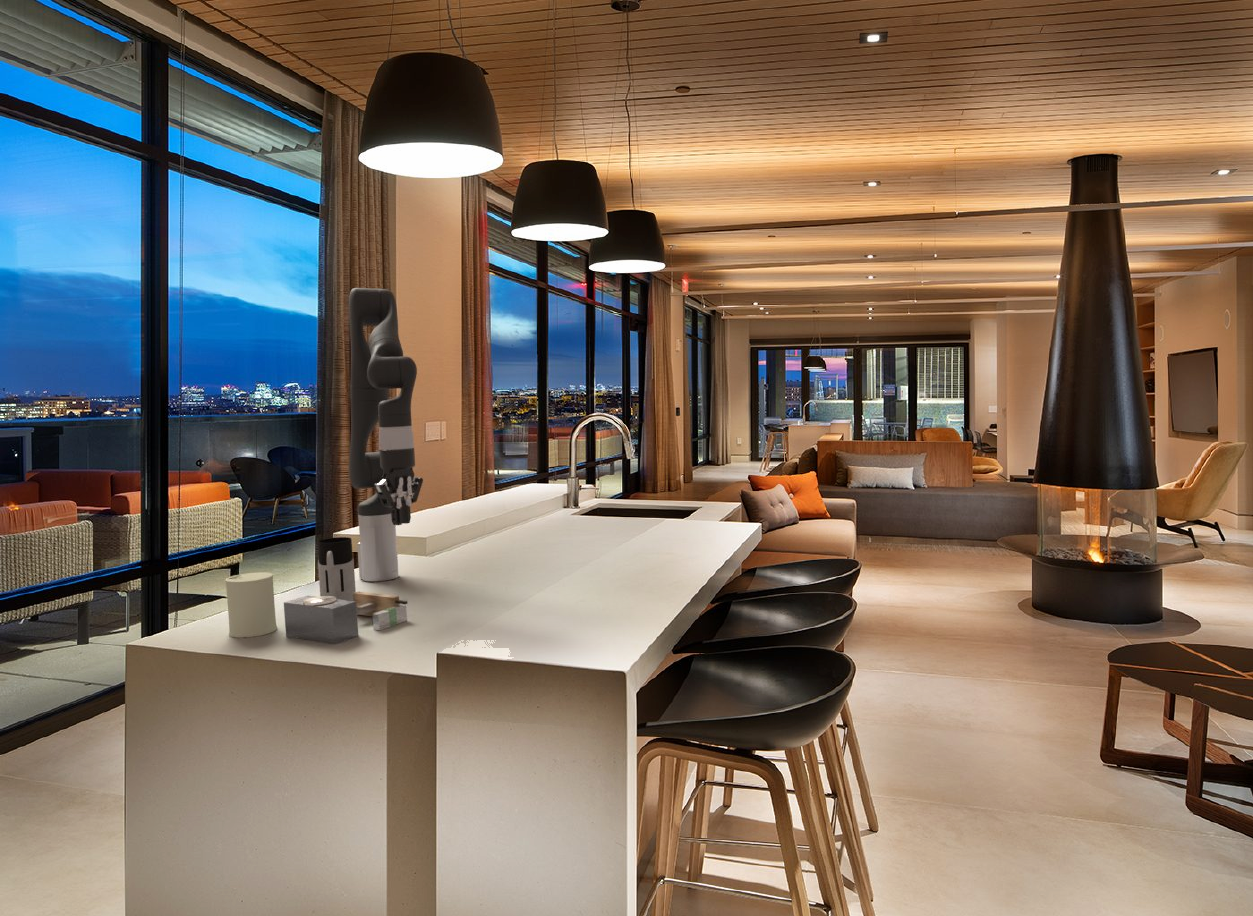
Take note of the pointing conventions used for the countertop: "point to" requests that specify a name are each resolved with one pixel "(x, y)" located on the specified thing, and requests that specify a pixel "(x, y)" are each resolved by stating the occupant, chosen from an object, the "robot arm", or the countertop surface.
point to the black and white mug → (336, 568)
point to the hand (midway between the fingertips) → (401, 523)
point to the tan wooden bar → (374, 602)
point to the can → (251, 604)
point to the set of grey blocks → (332, 618)
